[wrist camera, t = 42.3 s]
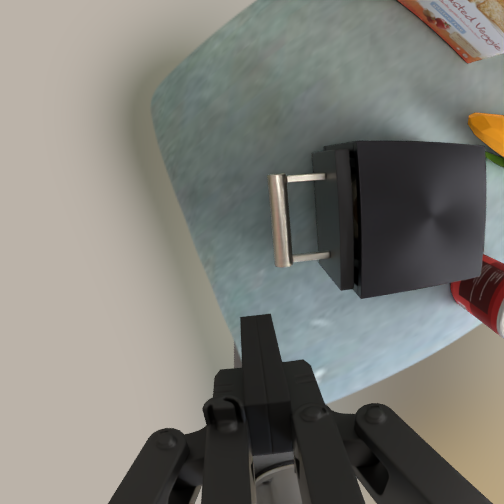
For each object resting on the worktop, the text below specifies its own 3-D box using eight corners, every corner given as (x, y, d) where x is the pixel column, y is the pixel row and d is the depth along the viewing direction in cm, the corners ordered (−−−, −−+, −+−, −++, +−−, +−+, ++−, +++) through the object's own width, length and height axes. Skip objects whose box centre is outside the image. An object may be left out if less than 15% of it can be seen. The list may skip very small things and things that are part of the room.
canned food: (486, 296, 37) (534, 328, 27) (446, 310, 37) (494, 349, 27) (490, 246, 35) (545, 271, 25) (449, 257, 35) (505, 287, 24)
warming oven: (330, 264, 34) (360, 299, 25) (323, 146, 31) (356, 140, 22) (432, 250, 35) (480, 276, 26) (431, 146, 31) (485, 145, 22)
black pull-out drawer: (271, 268, 33) (281, 298, 26) (261, 156, 30) (269, 153, 23) (419, 250, 34) (457, 271, 26) (418, 150, 31) (460, 150, 23)
